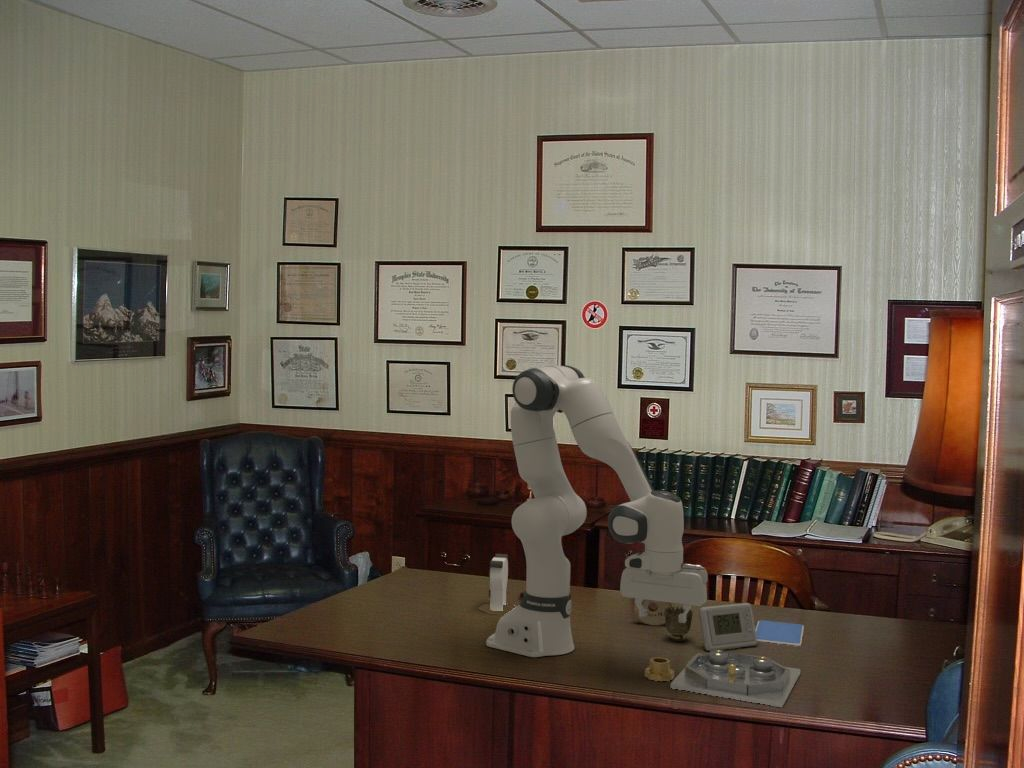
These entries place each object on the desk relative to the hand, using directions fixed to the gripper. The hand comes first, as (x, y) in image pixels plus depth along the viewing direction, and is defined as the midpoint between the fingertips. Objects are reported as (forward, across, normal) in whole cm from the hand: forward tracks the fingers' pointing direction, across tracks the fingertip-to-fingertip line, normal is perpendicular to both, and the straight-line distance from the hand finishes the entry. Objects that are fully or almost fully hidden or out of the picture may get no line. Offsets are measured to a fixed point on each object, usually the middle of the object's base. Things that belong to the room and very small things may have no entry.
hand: (662, 619), depth 245 cm
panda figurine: (+13, +58, -35) cm, 69 cm away
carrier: (+14, -16, -6) cm, 22 cm away
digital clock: (+14, -8, -32) cm, 36 cm away
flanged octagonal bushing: (+14, 0, 0) cm, 14 cm away
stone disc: (+14, +14, -42) cm, 47 cm away
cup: (+14, +4, -31) cm, 34 cm away
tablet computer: (+15, -18, -50) cm, 55 cm away
